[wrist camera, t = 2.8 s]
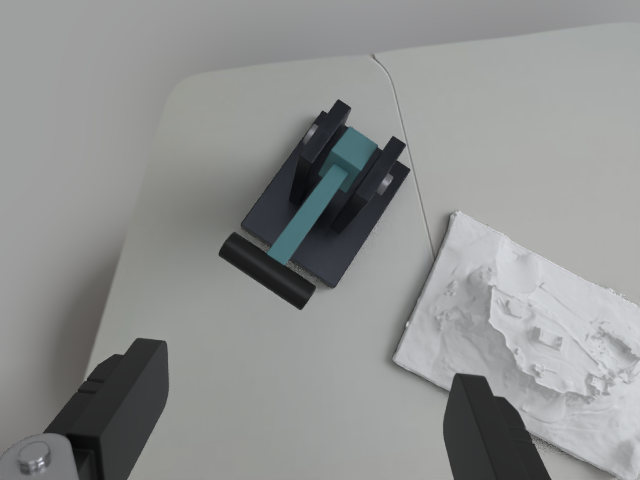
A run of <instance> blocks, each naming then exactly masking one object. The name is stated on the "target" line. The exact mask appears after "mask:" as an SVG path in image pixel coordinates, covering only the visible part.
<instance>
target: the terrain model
mask: <svg viewBox="0 0 640 480" xmlns="http://www.w3.org/2000/svg"><path fill="white" fill-rule="evenodd" d="M449 217H450V222H449V227H448V230H447V233H446V235H445V237H444V241H443V243H442V246H441V248H440V249H439V254H438V256H437V258H436V261H435V263H434V266H433V268H432V270H431V272H430V274H429V276H428V278H427V281H426V283H425V285H424V287H423V289H422V290H423V291H422V292H421V294H420V296H419V298H418V299H417V304H416V305H415V308H414V310H413V313H412V315H411V317H410V320H409V322H407V324H406V329H405V331H404V333H403V335H402V338H401V340H400V342H399V344H398V347H397V350H396V352H395V353H394V355H393V356H392V361H394V362H395V363H396V364H398V365H400V366H401V367H403V368H405V369H406V370H408V371H411V372H414V373H416V374H417V375H419V376H421V377H424V378H425V379H426V380H428V381H430V382H432V383H434V384H436V385H437V386H440V387H443V388H444V389H446V390H448V391H450V390H451V385H452V381H453V378H454V375H455V374H456V373H463V374H472V375H482V376H485V377H486V379H487V381H488V383H489V386H490V388H491V390H492V393H493V395H494V396H500V397H505V398H506V399H507V401H508V402H509V403H510V404H511V405H512V406H513V407H514V408H515V409H516V410H517V411H518V412H519V414H520V416H521V418H522V420H523V422H524V424H525V426H526V430H528V432H529V433H531V434H533V435H535V436H537V437H538V438H540V439H541V440H544V441H546V442H548V443H550V444H552V445H554V446H556V447H558V448H559V449H561V450H563V451H564V452H567V453H568V454H570V455H571V456H573V457H575V458H577V459H579V460H581V461H584V462H587V461H588V463H589V464H590V463H591V465H593V466H595V467H597V468H599V469H601V470H602V471H607V472H608V473H610V474H612V475H613V476H615V477H616V478H617V479H619V480H636V477H637V476H638V475H639V470H640V308H639V307H638V306H637V305H640V304H632V302H629V301H627V300H628V299H627V300H624V297H626V296H624V294H620V293H619V294H618V295H616V292H614V291H613V289H610V287H609V288H606V287H605V288H602V287H600V286H597V284H596V283H594V284H593V283H590V282H588V281H586V280H584V279H582V278H581V277H579V276H577V275H575V274H573V273H571V272H569V271H568V270H566V269H563V268H562V267H560V266H558V265H556V264H554V263H552V262H550V261H549V260H547V259H545V258H544V257H541V256H540V255H537V254H535V253H533V252H531V251H529V250H528V249H525V248H524V247H522V246H520V245H518V244H516V243H515V242H513V241H511V240H510V239H509V237H507V236H506V235H505V234H502V233H500V232H498V231H496V230H494V229H491V228H489V227H487V226H485V225H483V224H481V223H480V222H478V221H476V220H474V219H472V218H473V217H472V218H471V217H468V216H467V215H465V214H463V213H462V212H460V210H458V211H456V212H454V214H452V215H451V216H449ZM486 225H487V224H486ZM488 226H489V225H488ZM500 228H501V227H500Z"/></svg>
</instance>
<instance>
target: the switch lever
mask: <svg viewBox="0 0 640 480" xmlns="http://www.w3.org/2000/svg"><path fill="white" fill-rule="evenodd" d="M377 147H378V145H377V144H376V143H374V142H373V141H371V140H370V139H368V138H367V137H365V136H364V135H362V134H361V133H359V132H358V131H356V130H355V129H353V128H352V127H349V128H348V129H347V130H346V131H345V133H344V134H343V135H342V137H341V138H340V139H339V140H338V142H337V143H336V144H335V145H334V147H333V148H332V149H331V151H330V153H329V155H328V156H327V158H326V160H325V162H324V164H323V165H322V167H321V169H320V171H319V173H318V174H319V175H320V176H321V177H323V178H322V180H321V181H320V182H319V184H318V185H317V186H316V188H315V189H314V190H313V192H312V193H311V194H310V196H309V197H308V198H307V200H306V201H305V202H304V204H303V205H302V206H301V208H300V209H299V210H298V212H297V213H296V214H295V216H294V217H293V218H292V220H291V221H290V222H289V224H288V225H287V226H286V228H285V229H284V230H283V232H282V233H281V234H280V236H279V237H278V238H277V240H276V241H275V242H274V244H273V245H272V246H271V248H270V249H269V250H268V252H267V253H266V252H264V251H263V250H261V249H260V248H258V247H257V246H255V245H254V244H252V243H251V242H249V241H248V240H246V239H245V238H243V237H242V236H240V235H239V234H237V233H236V232H234V233H232V234H231V235H230V236H229V237H228V239H227V240H226V241H225V243H224V244H223V246H222V247H221V249H220V251H219V256H220V257H221V258H223V259H224V260H226V261H227V262H229V263H230V264H232V265H233V266H235V267H236V268H238V269H239V270H241V271H242V272H244V273H245V274H247V275H248V276H250V277H251V278H253V279H254V280H256V281H257V282H259V283H260V284H262V285H263V286H265V287H266V288H268V289H269V290H271V291H272V292H274V293H275V294H277V295H278V296H280V297H281V298H283V299H284V300H286V301H287V302H289V303H290V304H292V305H293V306H295V307H296V308H298V309H299V310H302V309H303V307H304V306H305V305H306V303H307V302H308V300H309V299H310V297H311V296H312V294H313V293H314V291H315V289H316V286H315V285H313V284H312V283H310V282H309V281H307V280H306V279H304V278H303V277H301V276H300V275H298V274H297V273H295V272H294V271H292V270H291V269H289V268H288V267H286V266H285V265H286V263H287V262H288V261H289V259H290V258H291V256H292V255H293V253H294V252H295V251H296V249H297V248H298V246H299V245H300V243H301V242H302V241H303V239H304V238H305V236H306V235H307V233H308V232H309V230H310V229H311V228H312V226H313V225H314V223H315V222H316V220H317V219H318V218H319V216H320V215H321V213H322V212H323V210H324V209H325V208H326V206H327V205H328V203H329V202H330V200H331V199H332V197H333V196H334V195H335V193H336V192H337V190H338V189H341V190H342V191H344V192H345V193H347V192H348V190H349V189H350V187H351V186H352V184H353V183H354V181H355V180H356V178H357V177H358V175H359V174H360V172H361V171H362V169H363V168H364V166H365V165H366V163H367V162H368V160H369V159H370V157H371V156H372V154H373V153H374V151H375V150H376V148H377Z"/></svg>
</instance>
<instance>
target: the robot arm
mask: <svg viewBox="0 0 640 480" xmlns="http://www.w3.org/2000/svg"><path fill="white" fill-rule="evenodd" d="M168 391H169V376H168V350H167V343H166V341H163V340H153V339H144V338H137V339H136V340H135V341H134V342H133V344H132V345H131V346H130V348H129V349H128V350H127V352H126V353H125V354H124V355H118V354H114V355H113V356H111V357H110V358H108V359H106V360H105V361H103V362H102V363H100V364H99V365H97V367H96V368H95V369H94V370H93V372H92V373H91V374H90V375H89V377H88V378H87V381H85V382H84V383H83V384H82V385H81V386H80V388H79V389H78V392H77V393H75V394H74V395H73V396H72V398H71V399H70V400H69V401H68V403H67V404H66V405H65V406H64V408H63V409H62V410H61V411H60V413H59V414H58V415H57V416H56V417H55V419H54V420H53V421H52V422H51V424H50V425H49V426H48V427H47V429H46V430H45V431H44V432H43V433H42V434H37V435H33V436H30V437H27V438H25V439H23V440H20V441H19V442H17V443H15V444H14V445H12V446H11V447H10V448H8V449H7V450H6V451H5V452H4V453H3V454H2V455H1V457H0V480H127V479H128V477H129V475H130V473H131V471H132V469H133V467H134V465H135V463H136V461H137V459H138V458H139V456H140V454H141V452H142V450H143V448H144V446H145V444H146V442H147V440H148V438H149V436H150V434H151V433H152V431H153V429H154V427H155V425H156V423H157V421H158V419H159V417H160V415H161V413H162V411H163V409H164V407H165V404H166V401H167V397H168ZM443 435H444V442H445V446H446V450H447V454H448V458H449V462H450V466H451V470H452V474H453V477H454V480H551V478H550V476H549V474H548V472H547V470H546V468H545V466H544V464H543V462H542V459H541V457H540V455H539V453H538V451H537V449H536V447H535V445H534V444H532V439H531V437H530V435H529V432H528V430H526V426H525V424H524V422H523V420H522V418H521V416H520V414H519V412H518V411H517V410H516V409H515V408H514V407H513V406H512V405H511V404H510V403H509V402H508V401H507V399H506V398H505V397H500V396H494V395H493V393H492V390H491V388H490V386H489V383H488V381H487V379H486V377H485V376H482V375H472V374H463V373H456V374H455V375H454V378H453V381H452V385H451V390H450V394H449V398H448V402H447V407H446V411H445V415H444V421H443Z"/></svg>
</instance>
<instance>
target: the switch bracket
mask: <svg viewBox="0 0 640 480" xmlns="http://www.w3.org/2000/svg"><path fill="white" fill-rule="evenodd" d="M350 111H351V107H349V106H348V105H346V104H345V103H343V102H342V101H340V100H337V101H336V103H335V104H334V106H333V107H332V108H331V110H330V111H329V113H328V114H327V113H326V112H324V111H322V112H321V113H320V115H319V116H318V117H317V119H316V120H315V122H314V123H313V124H312V126H311V127H310V129H309V130H308V131H307V133H306V134H305V135H304V137H303V138H302V140H301V141H300V142H299V144H298V145H297V147H296V148H295V149H294V151H293V152H292V154H291V155H290V156H289V158H288V159H287V161H286V162H285V163H284V165H283V166H282V167H281V169H280V170H279V172H278V173H277V174H276V176H275V177H274V179H273V180H272V181H271V183H270V184H269V186H268V187H267V188H266V190H265V191H264V193H263V194H262V195H261V197H260V198H259V199H258V201H257V202H256V204H255V205H254V206H253V208H252V209H251V211H250V212H249V213H248V215H247V216H246V218H245V219H244V220H243V222H242V223H241V228H243V229H244V230H246V231H247V232H249V233H250V234H252V235H253V236H255V237H256V238H258V239H259V240H261V241H262V242H264V243H265V244H267V245H268V246H270V247H271V246H272V245H273V244H274V242H275V241H276V240H277V238H278V237H279V236H280V234H281V233H282V232H283V230H284V229H285V228H286V226H287V225H288V224H289V222H290V221H291V220H292V218H293V217H294V216H295V214H296V213H297V212H298V210H299V209H300V208H301V206H302V205H303V204H304V202H305V201H306V200H307V198H308V197H309V196H310V194H311V193H312V192H313V190H314V189H315V188H316V186H317V185H318V184H319V182H320V181H321V180H322V178H323V177H321V176H320V175H319V174H318V173H319V171H320V169H321V167H322V165H323V164H324V162H325V160H326V158H327V156H328V155H329V153H330V151H331V149H332V148H333V147H334V145H335V144H336V143H337V142H338V140H339V139H340V138H341V137H342V135H343V134H344V133H345V131H346V130H347V129H348V127H347V126H345V123H346V120H347V118H348V115H349V113H350ZM405 147H406V144H405V143H403V142H402V141H400V140H399V139H397V138H396V137H394V136H392V138H391V139H390V141H389V142H388V143H387V145H386V146H385V148H384V149H383V150H381V149H379V148H378V147H377V148H376V150H375V151H374V153H373V154H372V156H371V157H370V159H369V160H368V162H367V163H366V165H365V166H364V168H363V169H362V171H361V172H360V174H359V175H358V177H357V178H356V180H355V181H354V183H353V184H352V186H351V187H350V189H349V190H348V192H347V193H345V192H344V191H342V190H341V189H338V190H337V192H336V193H335V195H334V196H333V197H332V199H331V200H330V202H329V203H328V205H327V206H326V208H325V209H324V210H323V212H322V213H321V215H320V216H319V218H318V219H317V220H316V222H315V223H314V225H313V226H312V228H311V229H310V230H309V232H308V233H307V235H306V236H305V238H304V239H303V241H302V242H301V243H300V245H299V246H298V248H297V249H296V251H295V252H294V253H293V255H292V256H291V258H290V259H289V260H290V261H292V262H293V263H295V264H296V265H298V266H299V267H301V268H302V269H304V270H305V271H307V272H308V273H310V274H311V275H313V276H314V277H316V278H317V279H319V280H320V281H322V282H323V283H325V284H326V285H328V286H329V287H331V288H335V287H336V285H337V284H338V282H339V280H340V279H341V277H342V276H343V274H344V273H345V271H346V270H347V268H348V266H349V265H350V263H351V262H352V260H353V259H354V257H355V256H356V254H357V252H358V251H359V249H360V248H361V246H362V245H363V243H364V242H365V240H366V239H367V237H368V235H369V234H370V232H371V231H372V229H373V228H374V226H375V225H376V223H377V221H378V220H379V218H380V217H381V215H382V214H383V212H384V211H385V209H386V207H387V206H388V204H389V203H390V201H391V200H392V198H393V197H394V195H395V193H396V192H397V190H398V189H399V187H400V186H401V184H402V183H403V181H404V180H405V178H406V176H407V175H408V173H409V172H410V169H409V168H407V167H406V166H404V165H403V164H402V163H400V162H399V161H397V159H398V157H399V156H400V154H401V153H402V151H403V150H404V148H405Z"/></svg>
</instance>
